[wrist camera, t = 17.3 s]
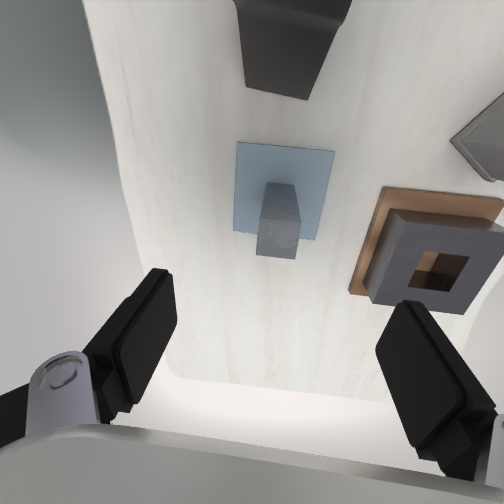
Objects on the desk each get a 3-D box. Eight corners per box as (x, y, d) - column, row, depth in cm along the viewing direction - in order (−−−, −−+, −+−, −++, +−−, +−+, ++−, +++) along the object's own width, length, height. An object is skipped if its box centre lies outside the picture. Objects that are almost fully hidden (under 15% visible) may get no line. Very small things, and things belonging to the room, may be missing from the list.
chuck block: (389, 208, 27) (406, 221, 23) (485, 218, 26) (517, 234, 23) (362, 282, 32) (372, 303, 28) (442, 292, 31) (463, 315, 28)
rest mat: (238, 141, 26) (237, 142, 25) (333, 151, 25) (335, 151, 25) (234, 228, 31) (233, 230, 30) (314, 238, 30) (314, 240, 30)
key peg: (266, 182, 27) (259, 218, 17) (294, 184, 27) (301, 222, 17) (264, 208, 29) (255, 254, 19) (290, 210, 28) (294, 259, 19)
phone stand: (306, 100, 24) (327, 88, 13) (245, 86, 24) (217, 63, 13) (341, -32, 19) (414, -209, 9) (266, -50, 19) (250, -248, 9)
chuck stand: (383, 186, 27) (386, 188, 26) (499, 198, 26) (506, 201, 25) (348, 289, 33) (350, 294, 33) (439, 300, 33) (443, 305, 32)
